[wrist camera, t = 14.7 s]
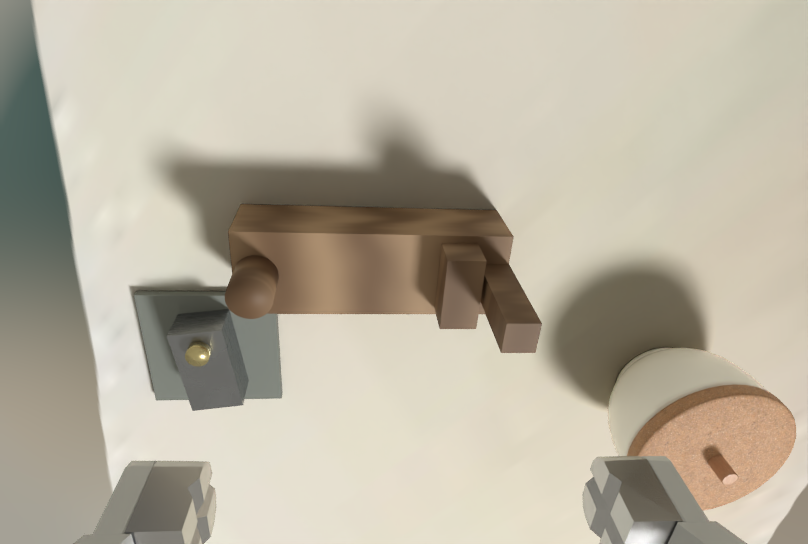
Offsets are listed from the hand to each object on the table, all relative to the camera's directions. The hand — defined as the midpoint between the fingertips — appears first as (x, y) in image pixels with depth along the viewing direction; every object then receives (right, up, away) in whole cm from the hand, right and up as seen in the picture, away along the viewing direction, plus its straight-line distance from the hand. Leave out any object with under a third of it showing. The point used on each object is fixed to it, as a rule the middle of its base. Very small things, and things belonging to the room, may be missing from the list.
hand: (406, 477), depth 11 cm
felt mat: (-15, -1, +31) cm, 34 cm away
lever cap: (-15, -2, +30) cm, 34 cm away
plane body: (-2, +6, +28) cm, 28 cm away
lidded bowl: (+23, -5, +37) cm, 44 cm away
